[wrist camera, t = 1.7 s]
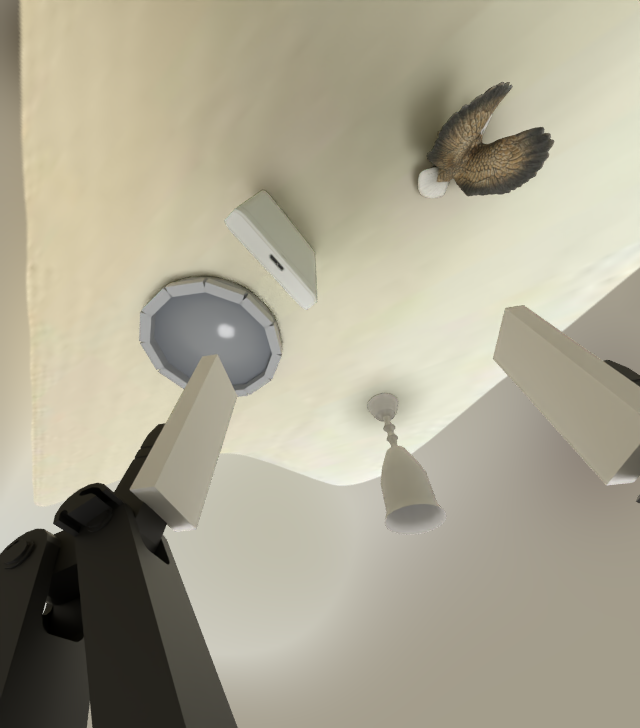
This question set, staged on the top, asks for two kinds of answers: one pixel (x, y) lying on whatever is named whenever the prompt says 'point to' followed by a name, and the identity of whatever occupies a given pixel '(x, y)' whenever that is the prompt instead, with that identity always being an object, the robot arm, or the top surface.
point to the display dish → (211, 332)
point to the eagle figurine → (482, 152)
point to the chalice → (404, 480)
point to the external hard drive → (276, 246)
